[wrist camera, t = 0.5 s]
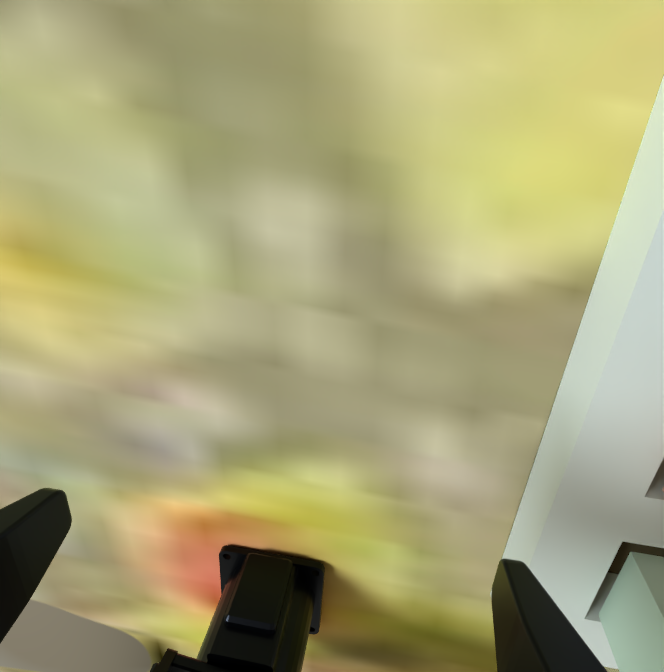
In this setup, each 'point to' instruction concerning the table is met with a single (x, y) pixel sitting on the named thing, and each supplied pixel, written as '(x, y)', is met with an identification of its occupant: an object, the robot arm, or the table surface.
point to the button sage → (636, 614)
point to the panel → (606, 417)
